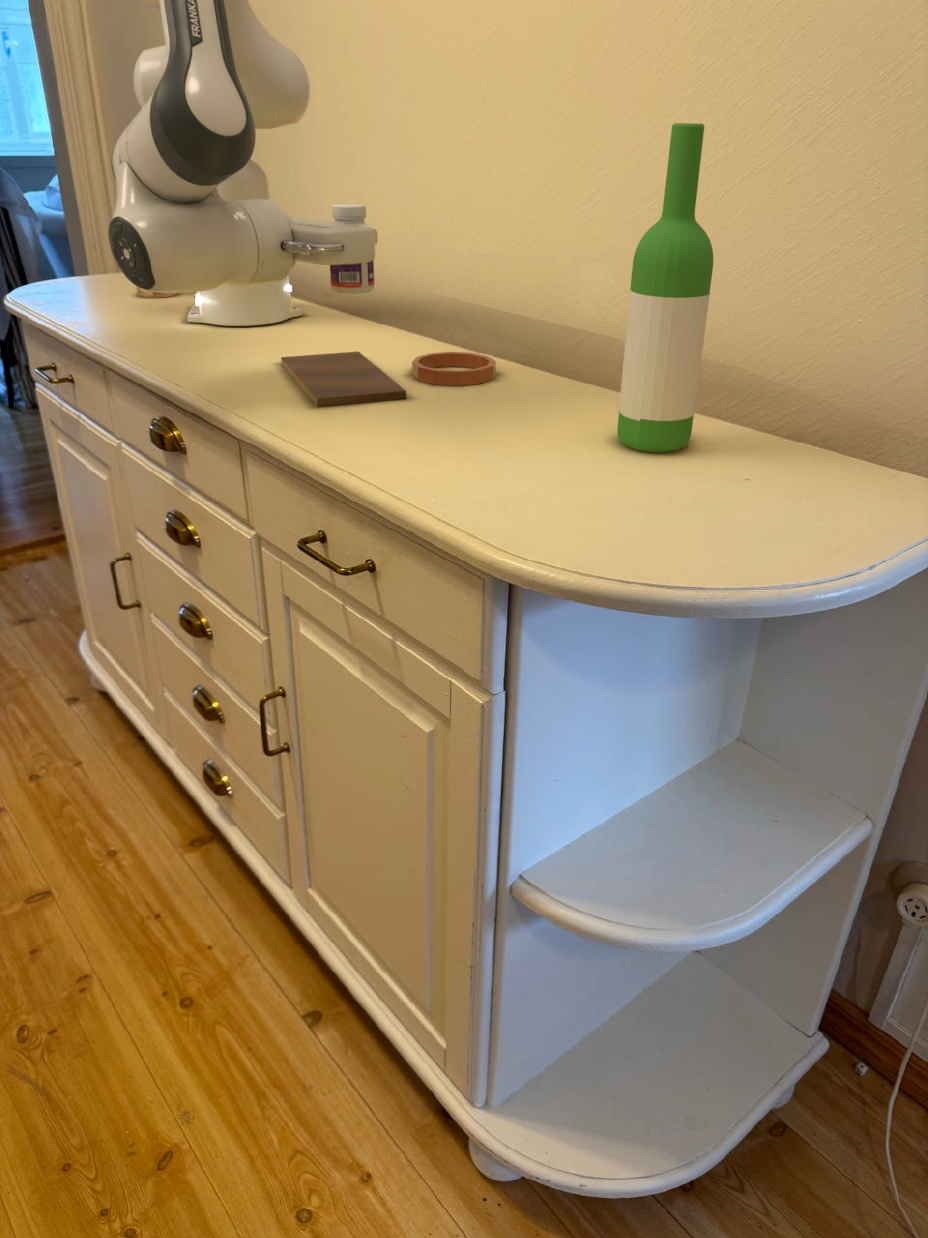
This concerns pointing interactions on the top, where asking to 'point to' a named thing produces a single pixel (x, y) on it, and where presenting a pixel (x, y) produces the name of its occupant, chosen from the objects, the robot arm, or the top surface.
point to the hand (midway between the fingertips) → (355, 233)
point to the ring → (428, 374)
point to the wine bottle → (667, 310)
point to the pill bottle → (351, 275)
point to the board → (341, 379)
